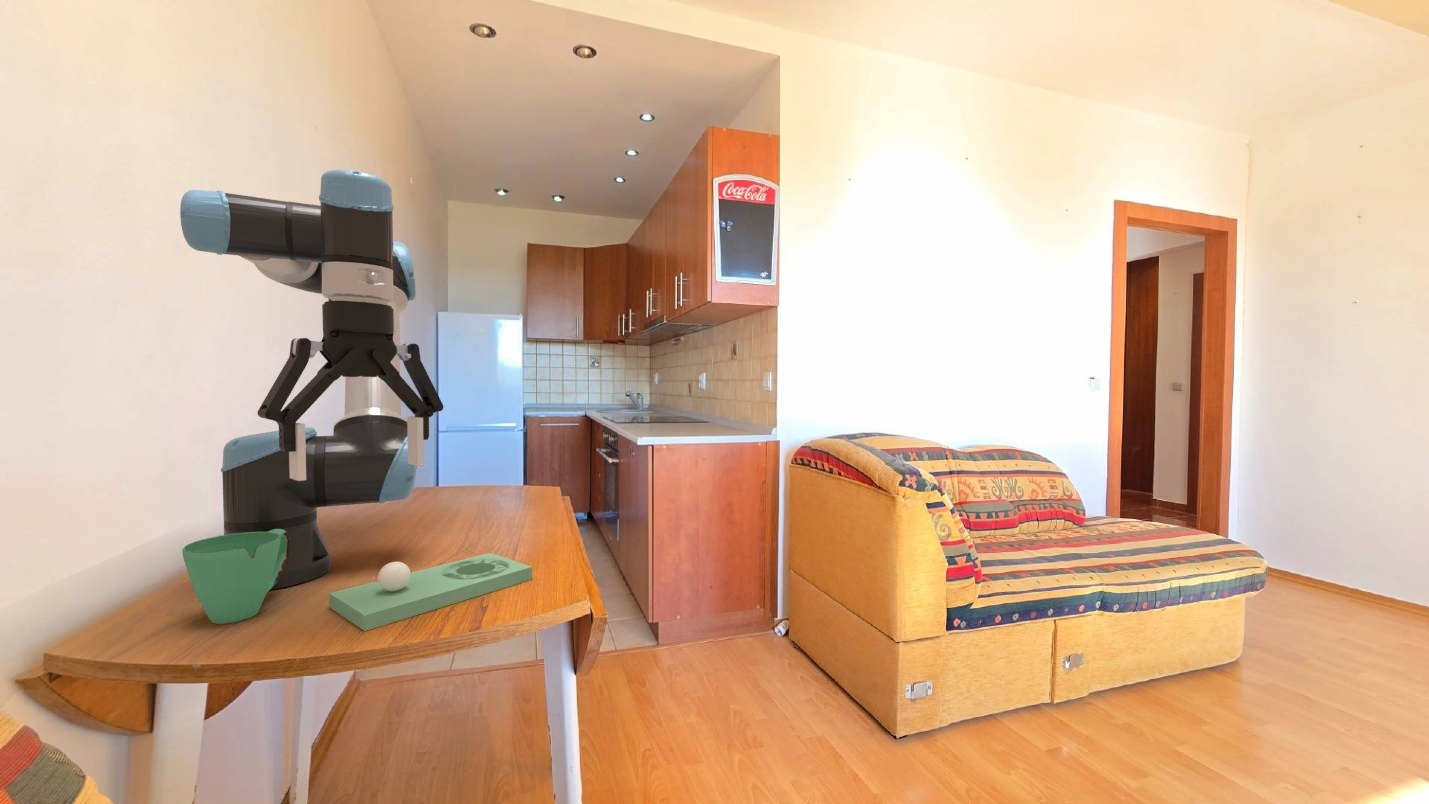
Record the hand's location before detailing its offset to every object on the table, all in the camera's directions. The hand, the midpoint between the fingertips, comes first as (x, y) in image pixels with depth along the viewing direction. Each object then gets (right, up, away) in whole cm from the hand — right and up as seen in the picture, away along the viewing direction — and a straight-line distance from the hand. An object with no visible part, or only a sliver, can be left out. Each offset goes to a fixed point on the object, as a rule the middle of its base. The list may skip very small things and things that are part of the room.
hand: (361, 471), depth 71 cm
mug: (-19, -20, +6) cm, 28 cm away
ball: (0, -16, +7) cm, 17 cm away
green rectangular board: (+4, -19, +12) cm, 23 cm away
